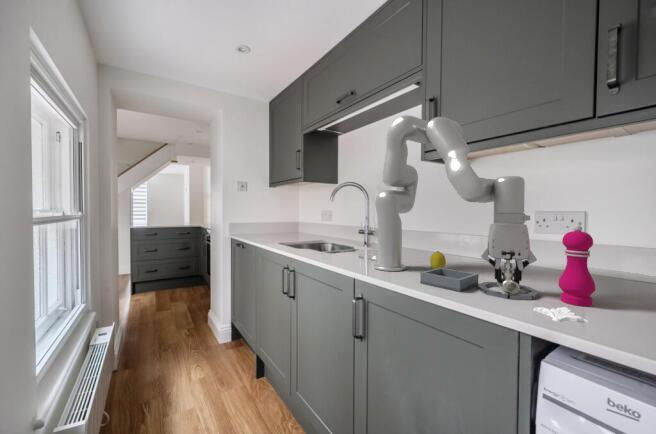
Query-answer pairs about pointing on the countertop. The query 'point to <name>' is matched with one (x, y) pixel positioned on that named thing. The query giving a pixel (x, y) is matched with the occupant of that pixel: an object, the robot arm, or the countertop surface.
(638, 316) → the countertop surface
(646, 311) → the countertop surface
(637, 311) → the countertop surface
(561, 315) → the acanthus leaf ornament
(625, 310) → the countertop surface
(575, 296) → the pepper mill
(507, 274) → the valve
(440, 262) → the lemon
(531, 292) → the segmented octagonal ring
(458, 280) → the bin
